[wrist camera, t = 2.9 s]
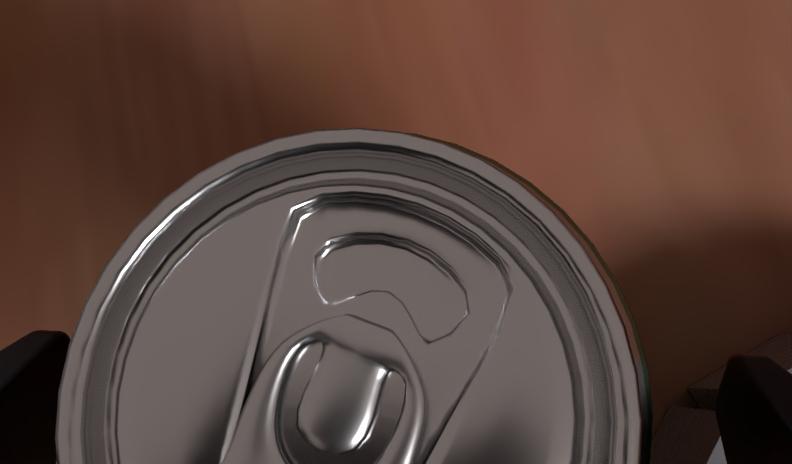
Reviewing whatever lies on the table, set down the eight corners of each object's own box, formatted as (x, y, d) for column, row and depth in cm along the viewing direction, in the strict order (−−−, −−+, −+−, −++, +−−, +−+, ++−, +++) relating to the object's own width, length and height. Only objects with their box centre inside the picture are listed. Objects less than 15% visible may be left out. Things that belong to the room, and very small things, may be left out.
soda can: (543, 325, 17) (785, 202, 5) (474, 529, 16) (571, 964, 4) (353, 255, 17) (173, 3, 6) (277, 448, 16) (-123, 618, 5)
